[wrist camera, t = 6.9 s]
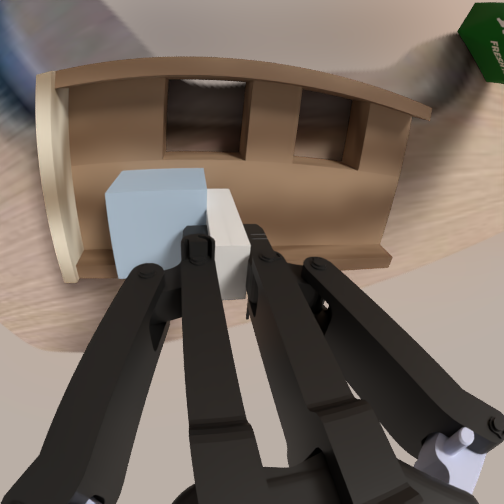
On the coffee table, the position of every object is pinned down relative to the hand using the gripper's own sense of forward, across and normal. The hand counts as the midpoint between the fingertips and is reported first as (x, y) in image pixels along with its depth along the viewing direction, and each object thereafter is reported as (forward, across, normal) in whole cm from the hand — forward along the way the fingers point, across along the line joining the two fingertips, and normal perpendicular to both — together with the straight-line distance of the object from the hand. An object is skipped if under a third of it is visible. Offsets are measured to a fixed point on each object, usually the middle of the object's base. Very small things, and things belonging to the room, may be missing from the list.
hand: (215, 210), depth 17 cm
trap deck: (+4, +2, +2) cm, 5 cm away
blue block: (+1, -3, 0) cm, 3 cm away
